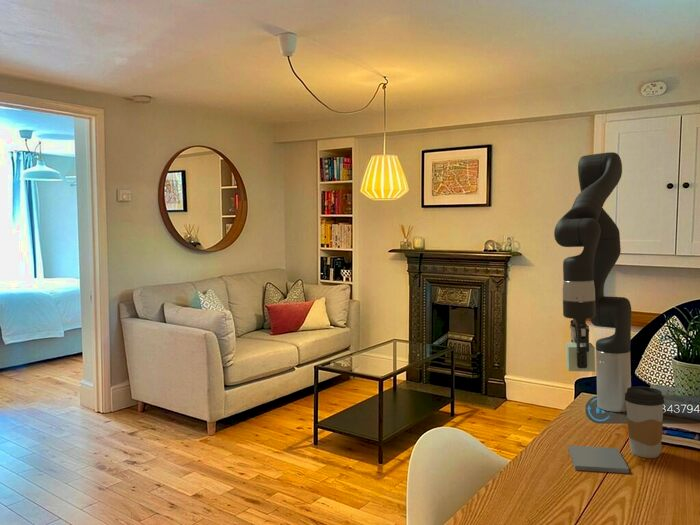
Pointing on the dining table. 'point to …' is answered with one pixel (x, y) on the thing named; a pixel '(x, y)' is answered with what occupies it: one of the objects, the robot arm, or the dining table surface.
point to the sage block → (572, 358)
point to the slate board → (597, 459)
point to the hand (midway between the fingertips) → (580, 364)
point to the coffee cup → (644, 420)
